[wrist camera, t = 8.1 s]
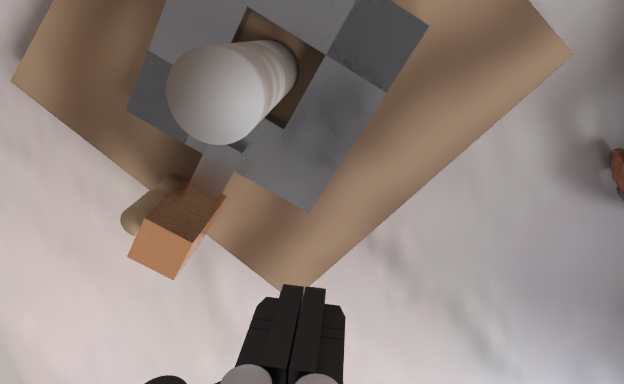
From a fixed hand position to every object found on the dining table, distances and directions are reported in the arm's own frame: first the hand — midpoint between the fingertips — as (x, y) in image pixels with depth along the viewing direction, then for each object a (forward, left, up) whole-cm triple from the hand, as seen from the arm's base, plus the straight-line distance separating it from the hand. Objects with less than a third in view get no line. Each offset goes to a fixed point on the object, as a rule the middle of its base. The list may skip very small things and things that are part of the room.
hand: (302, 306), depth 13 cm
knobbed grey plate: (+6, -1, -11) cm, 12 cm away
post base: (+7, -3, -13) cm, 15 cm away
